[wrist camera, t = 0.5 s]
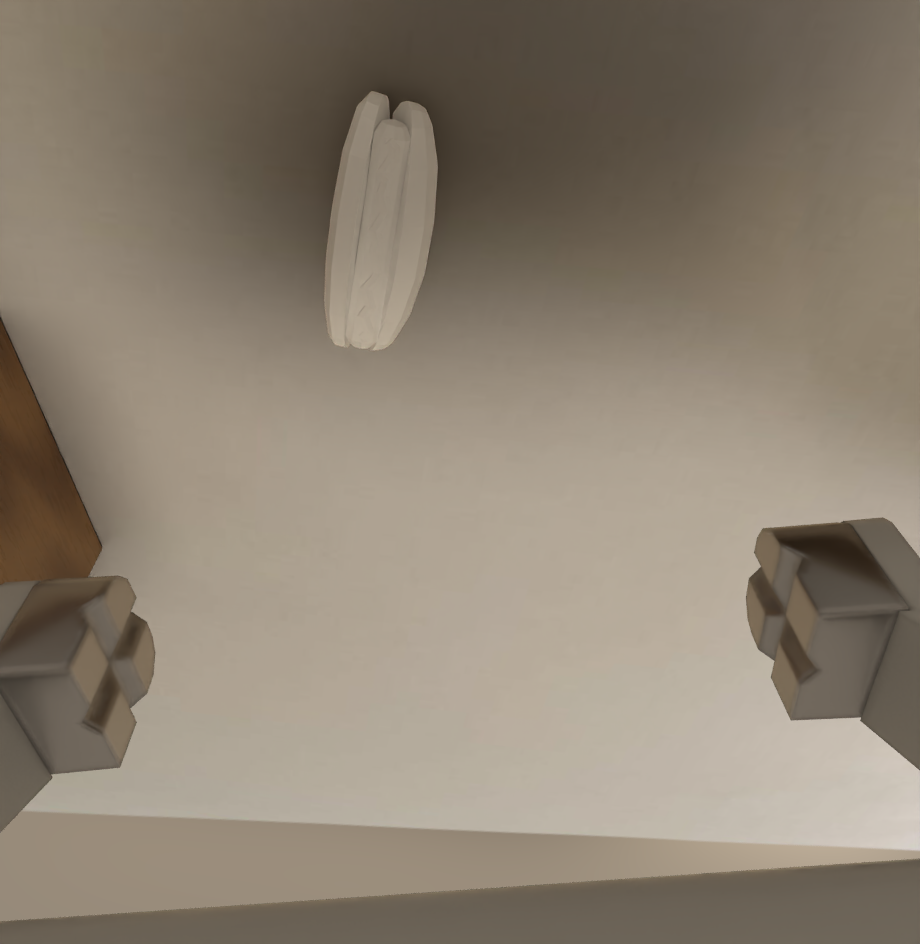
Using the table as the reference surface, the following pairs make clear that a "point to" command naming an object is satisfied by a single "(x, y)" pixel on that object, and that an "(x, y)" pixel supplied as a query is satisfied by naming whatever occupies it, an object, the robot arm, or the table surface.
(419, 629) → the table surface
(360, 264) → the grey ribbed oval piece
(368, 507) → the table surface
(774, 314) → the table surface
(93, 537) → the oak stand
